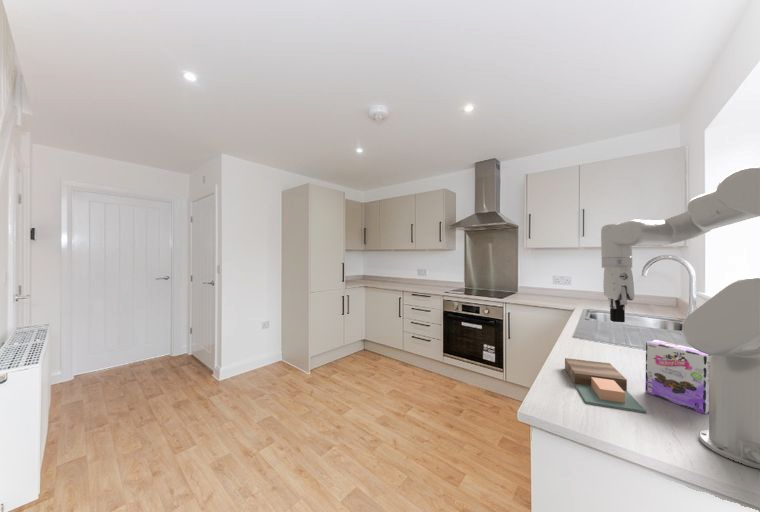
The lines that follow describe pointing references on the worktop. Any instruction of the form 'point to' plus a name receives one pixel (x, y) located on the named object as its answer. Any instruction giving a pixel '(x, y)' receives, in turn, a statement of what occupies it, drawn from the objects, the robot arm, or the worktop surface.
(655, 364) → the candy box
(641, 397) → the worktop surface
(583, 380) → the brown block
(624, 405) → the mat
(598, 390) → the peach rectangular block
